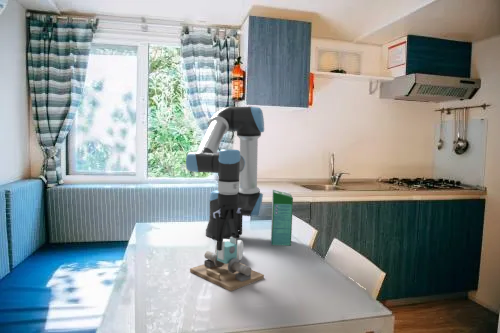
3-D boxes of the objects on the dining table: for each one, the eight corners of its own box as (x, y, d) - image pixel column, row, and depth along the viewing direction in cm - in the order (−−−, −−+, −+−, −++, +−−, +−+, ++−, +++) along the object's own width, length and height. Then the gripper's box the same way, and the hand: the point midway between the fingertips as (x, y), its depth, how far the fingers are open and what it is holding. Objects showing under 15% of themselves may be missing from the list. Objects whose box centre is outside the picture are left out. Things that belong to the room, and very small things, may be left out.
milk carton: (291, 245, 162) (293, 192, 160) (271, 245, 162) (273, 192, 160) (289, 240, 171) (291, 190, 169) (270, 239, 171) (272, 189, 169)
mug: (238, 263, 138) (239, 243, 137) (214, 260, 140) (215, 241, 139) (245, 253, 149) (245, 235, 149) (222, 251, 151) (223, 233, 151)
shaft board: (190, 271, 127) (190, 253, 127) (222, 261, 139) (223, 244, 138) (231, 291, 112) (231, 270, 111) (264, 278, 123) (264, 258, 123)
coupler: (216, 260, 125) (216, 243, 125) (226, 256, 129) (227, 241, 128) (226, 264, 121) (227, 247, 121) (237, 260, 125) (237, 244, 124)
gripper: (216, 196, 114) (214, 265, 116) (253, 192, 127) (251, 254, 129) (201, 193, 119) (200, 259, 121) (239, 189, 132) (237, 249, 134)
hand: (226, 256), depth 125 cm, fingers closed on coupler, 5 cm apart
